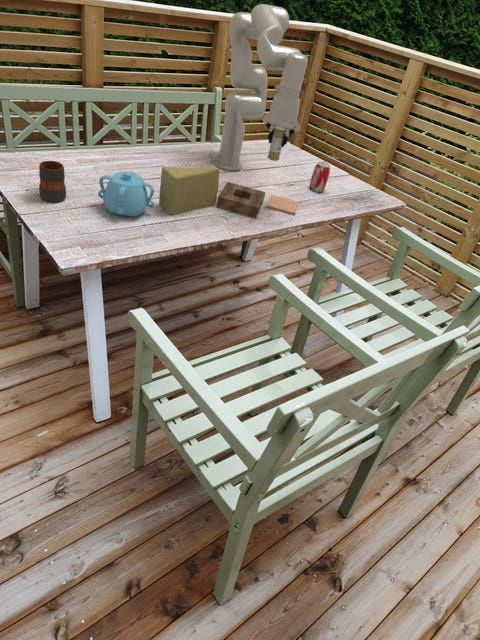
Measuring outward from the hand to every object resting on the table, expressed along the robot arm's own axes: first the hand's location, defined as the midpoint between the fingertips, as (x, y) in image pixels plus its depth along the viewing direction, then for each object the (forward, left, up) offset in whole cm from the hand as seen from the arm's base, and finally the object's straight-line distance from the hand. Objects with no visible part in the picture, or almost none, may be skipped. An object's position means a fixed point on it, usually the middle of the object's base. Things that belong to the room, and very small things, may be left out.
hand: (276, 143), depth 181 cm
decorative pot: (-44, -34, -25) cm, 61 cm away
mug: (-69, -39, -25) cm, 83 cm away
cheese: (-25, -19, -25) cm, 40 cm away
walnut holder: (-8, -5, -25) cm, 27 cm away
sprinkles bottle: (0, 0, -6) cm, 6 cm away
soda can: (+20, +32, -25) cm, 45 cm away
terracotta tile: (+8, +5, -25) cm, 27 cm away
